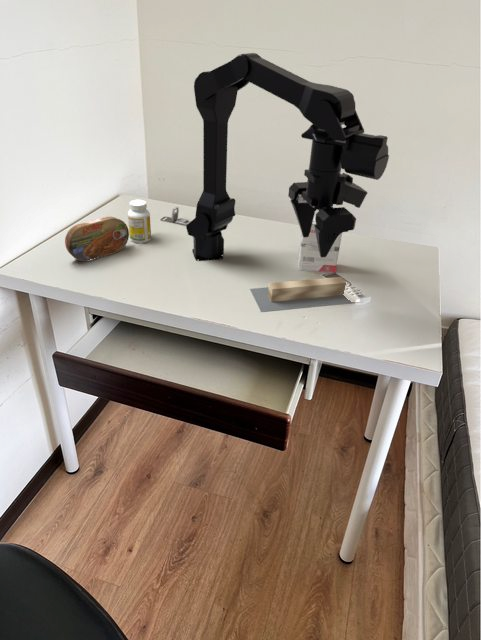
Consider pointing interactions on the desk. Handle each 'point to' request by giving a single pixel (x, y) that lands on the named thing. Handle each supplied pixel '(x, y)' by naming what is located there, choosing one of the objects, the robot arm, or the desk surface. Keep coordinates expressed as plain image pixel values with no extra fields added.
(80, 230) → the tin
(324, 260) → the ink box
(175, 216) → the strap clip
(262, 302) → the tool mat
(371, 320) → the desk surface
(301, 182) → the robot arm
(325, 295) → the beech stick
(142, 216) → the supplement bottle
